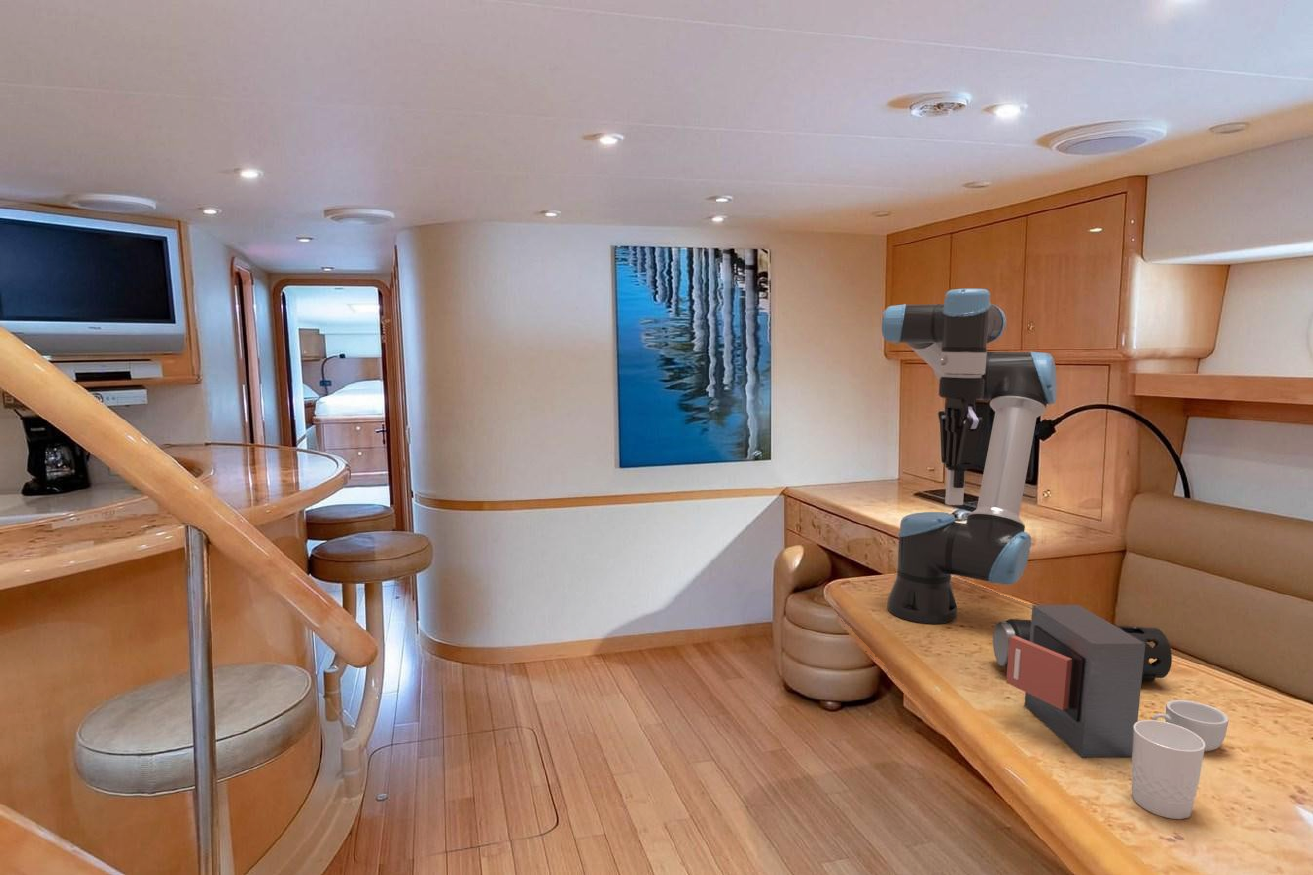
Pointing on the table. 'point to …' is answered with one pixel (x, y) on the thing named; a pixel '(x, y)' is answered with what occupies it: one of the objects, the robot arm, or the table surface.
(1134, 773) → the white cup
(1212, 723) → the teacup
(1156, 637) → the muzzle brake
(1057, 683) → the rocker
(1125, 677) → the switch box
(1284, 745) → the table surface
